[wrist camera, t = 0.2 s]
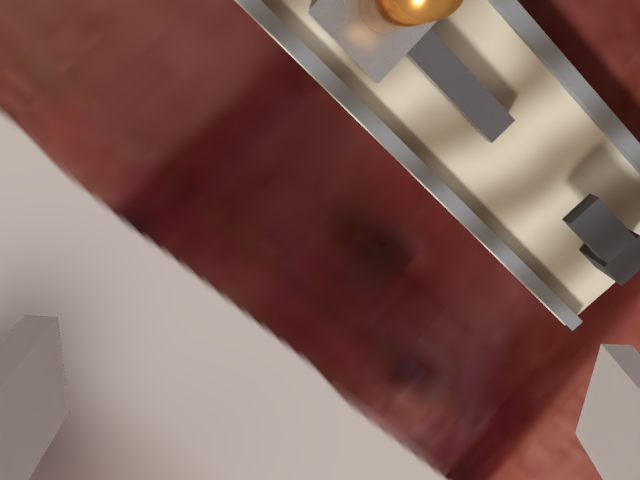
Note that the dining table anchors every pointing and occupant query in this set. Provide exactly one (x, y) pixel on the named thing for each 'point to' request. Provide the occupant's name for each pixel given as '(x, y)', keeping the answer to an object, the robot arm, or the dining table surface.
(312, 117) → the dining table surface
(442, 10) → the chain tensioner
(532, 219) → the rail
